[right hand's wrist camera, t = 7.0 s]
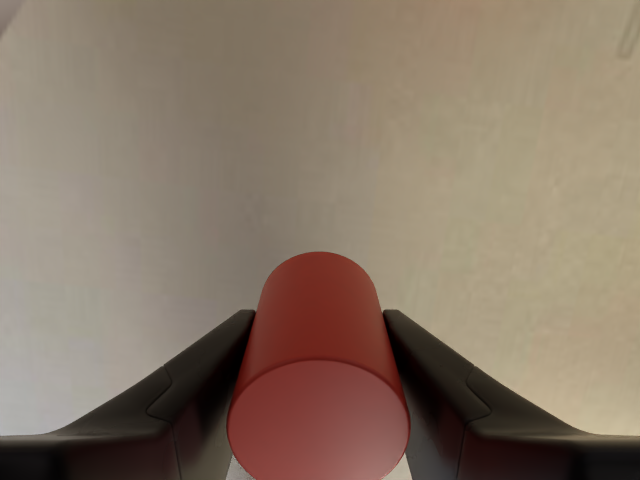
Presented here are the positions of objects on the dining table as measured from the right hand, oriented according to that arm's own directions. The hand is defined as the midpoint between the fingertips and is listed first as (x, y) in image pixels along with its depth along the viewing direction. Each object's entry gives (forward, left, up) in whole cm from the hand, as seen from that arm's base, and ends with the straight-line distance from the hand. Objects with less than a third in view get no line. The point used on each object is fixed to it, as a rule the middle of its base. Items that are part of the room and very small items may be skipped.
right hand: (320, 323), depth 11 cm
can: (0, 0, -1) cm, 1 cm away
